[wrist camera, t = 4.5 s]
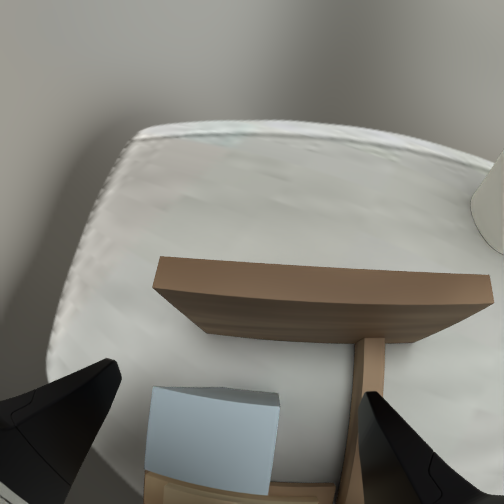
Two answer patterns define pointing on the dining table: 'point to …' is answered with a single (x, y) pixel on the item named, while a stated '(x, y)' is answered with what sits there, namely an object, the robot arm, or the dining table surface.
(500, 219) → the cylindrical container
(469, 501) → the robot arm
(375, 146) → the dining table surface
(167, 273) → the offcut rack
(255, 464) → the slate slat
